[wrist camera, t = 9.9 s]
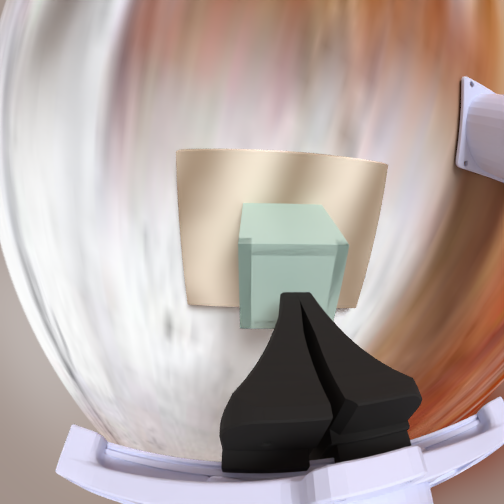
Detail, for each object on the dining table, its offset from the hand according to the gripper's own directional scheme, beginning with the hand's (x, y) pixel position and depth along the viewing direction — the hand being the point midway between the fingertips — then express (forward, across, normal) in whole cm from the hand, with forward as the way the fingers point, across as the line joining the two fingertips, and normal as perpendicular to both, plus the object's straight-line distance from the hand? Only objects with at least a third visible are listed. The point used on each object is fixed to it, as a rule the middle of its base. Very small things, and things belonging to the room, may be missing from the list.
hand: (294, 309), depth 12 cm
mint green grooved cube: (+7, 0, 0) cm, 7 cm away
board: (+8, 0, 0) cm, 8 cm away
